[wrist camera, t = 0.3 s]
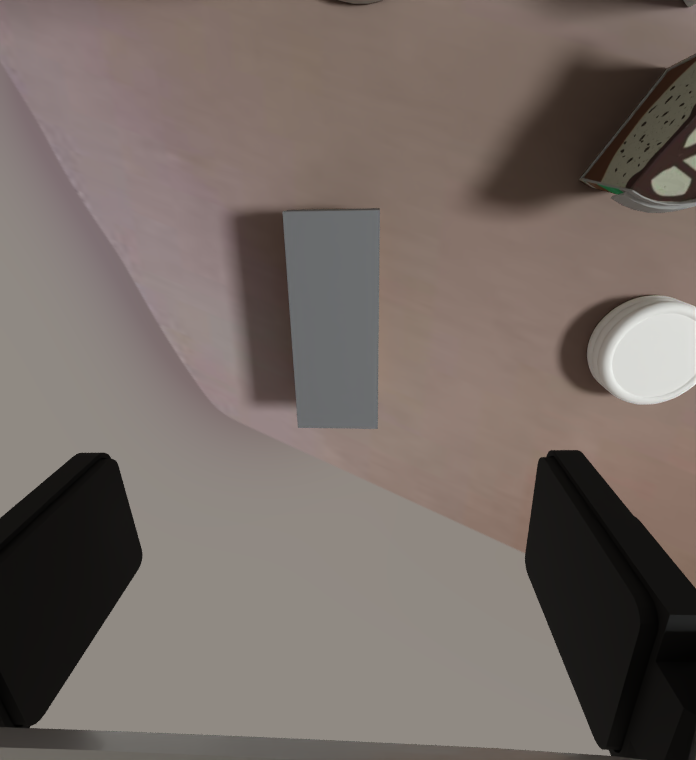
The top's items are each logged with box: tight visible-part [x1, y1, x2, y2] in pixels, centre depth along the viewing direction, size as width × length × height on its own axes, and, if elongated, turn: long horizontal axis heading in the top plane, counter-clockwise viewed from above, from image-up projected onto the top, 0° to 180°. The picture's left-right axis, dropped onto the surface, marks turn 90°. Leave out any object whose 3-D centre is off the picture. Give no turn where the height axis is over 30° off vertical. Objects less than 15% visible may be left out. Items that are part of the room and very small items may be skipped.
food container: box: [579, 54, 696, 213], centre depth 32 cm, size 12×6×10 cm, turn 147°
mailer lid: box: [283, 208, 380, 429], centre depth 39 cm, size 19×8×3 cm, turn 1°
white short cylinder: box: [587, 295, 696, 405], centre depth 41 cm, size 10×10×4 cm
